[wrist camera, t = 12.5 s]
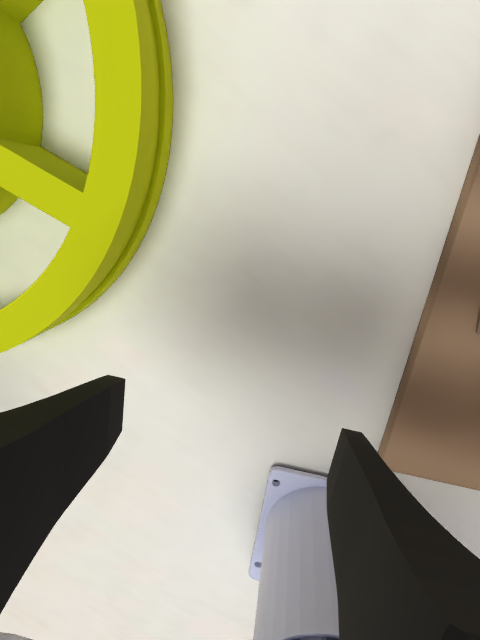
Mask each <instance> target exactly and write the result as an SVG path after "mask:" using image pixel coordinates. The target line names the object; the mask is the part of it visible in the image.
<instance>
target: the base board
mask: <svg viewBox="0 0 480 640" xmlns="http://www.w3.org/2000/svg"><path fill="white" fill-rule="evenodd" d="M479 319H480V136H479V139H478V142H477V145H476V148H475V151H474V154H473V157H472V161H471V164H470V167H469V170H468V173H467V176H466V179H465V182H464V186H463V189H462V192H461V195H460V198H459V201H458V204H457V207H456V211H455V214H454V217H453V220H452V223H451V226H450V229H449V232H448V236H447V239H446V242H445V245H444V248H443V251H442V254H441V257H440V261H439V264H438V267H437V270H436V273H435V276H434V279H433V282H432V286H431V289H430V292H429V295H428V298H427V301H426V304H425V307H424V311H423V314H422V317H421V320H420V323H419V326H418V329H417V332H416V336H415V339H414V342H413V345H412V348H411V351H410V354H409V357H408V361H407V364H406V367H405V370H404V373H403V376H402V379H401V382H400V386H399V389H398V392H397V395H396V398H395V401H394V404H393V407H392V411H391V414H390V417H389V420H388V423H387V426H386V429H385V432H384V436H383V439H382V442H381V445H380V448H379V451H378V454H379V455H380V457H381V458H382V459H383V461H384V462H385V463H386V464H387V466H388V467H389V468H390V469H391V471H394V472H398V473H403V474H407V475H412V476H416V477H421V478H425V479H430V480H434V481H439V482H443V483H448V484H452V485H457V486H461V487H466V488H470V489H475V490H480V336H479V335H478V334H477V330H478V324H479Z"/></svg>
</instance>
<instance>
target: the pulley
mask: <svg viewBox="0 0 480 640" xmlns="http://www.w3.org/2000/svg"><path fill="white" fill-rule="evenodd" d="M42 1H43V0H0V215H1V214H2V213H3V212H5V211H6V210H7V209H8V208H9V207H10V206H11V205H12V204H13V203H14V202H15V201H16V200H17V199H18V197H19V198H21V199H23V200H24V201H26V202H28V203H30V204H31V205H33V206H35V207H37V208H38V209H40V210H42V211H43V212H45V213H47V214H49V215H50V216H52V217H54V218H55V219H57V220H59V221H61V222H62V223H64V224H66V225H68V226H69V227H71V228H70V230H69V232H68V234H67V236H66V238H65V240H64V242H63V244H62V246H61V247H60V249H59V251H58V252H57V254H56V256H55V257H54V259H53V260H52V261H51V263H50V264H49V266H48V267H47V268H46V270H45V271H44V272H43V273H42V274H41V276H40V277H39V278H38V279H37V280H36V281H35V282H34V283H33V284H32V285H31V286H30V287H29V288H28V289H27V290H26V291H25V292H24V293H23V294H22V295H20V296H19V297H18V298H17V299H16V300H14V301H13V302H11V303H10V304H9V305H7V306H6V307H4V308H2V309H0V353H1V352H4V351H7V350H9V349H11V348H13V347H15V346H17V345H19V344H21V343H23V342H25V341H27V340H29V339H31V338H33V337H35V336H37V335H39V334H41V333H43V332H44V331H46V330H48V329H51V328H53V327H55V326H57V325H59V324H61V323H63V322H65V321H66V320H68V319H70V318H72V317H73V316H75V315H77V314H78V313H80V312H81V311H83V310H84V309H85V308H87V307H88V306H90V305H91V304H92V303H93V302H94V301H96V300H97V299H98V298H99V297H100V296H101V295H102V294H103V293H104V292H105V291H106V290H107V289H108V288H109V287H110V286H111V285H112V284H113V283H114V282H115V281H116V279H117V278H118V277H119V276H120V275H121V273H122V272H123V271H124V269H125V268H126V267H127V265H128V264H129V262H130V261H131V259H132V258H133V256H134V254H135V253H136V251H137V249H138V248H139V246H140V244H141V242H142V240H143V238H144V236H145V234H146V232H147V230H148V227H149V225H150V223H151V221H152V218H153V215H154V213H155V210H156V207H157V204H158V201H159V198H160V194H161V191H162V187H163V184H164V179H165V174H166V170H167V165H168V159H169V152H170V145H171V135H172V123H173V83H172V69H171V58H170V50H169V43H168V37H167V30H166V25H165V20H164V16H163V11H162V6H161V2H160V0H83V1H84V5H85V9H86V14H87V20H88V26H89V32H90V37H91V46H92V54H93V63H94V79H95V122H94V136H93V145H92V154H91V159H90V165H89V171H88V174H87V173H85V172H83V171H81V170H80V169H78V168H76V167H75V166H73V165H71V164H69V163H68V162H66V161H64V160H63V159H61V158H59V157H57V156H56V155H54V154H52V153H51V152H49V151H47V150H46V149H44V148H42V147H40V145H41V138H42V128H43V106H42V95H41V87H40V82H39V76H38V72H37V68H36V64H35V61H34V57H33V54H32V51H31V48H30V46H29V43H28V40H27V38H26V36H25V33H24V31H23V29H22V27H21V25H20V23H21V22H22V21H23V20H24V19H25V18H26V17H27V16H28V15H29V14H30V13H31V12H32V11H33V10H34V9H35V8H36V7H37V6H38V5H39V4H40V3H41V2H42Z"/></svg>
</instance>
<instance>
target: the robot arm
mask: <svg viewBox="0 0 480 640" xmlns="http://www.w3.org/2000/svg"><path fill="white" fill-rule="evenodd" d="M124 391H125V379H124V378H119V377H115V376H110V375H107V376H103V377H100V378H97V379H95V380H92V381H89V382H87V383H84V384H82V385H79V386H77V387H74V388H71V389H69V390H66V391H64V392H61V393H58V394H56V395H53V396H50V397H48V398H45V399H42V400H39V401H36V402H33V403H30V404H27V405H24V406H22V407H18V408H15V409H12V410H8V411H5V412H1V413H0V614H1V612H2V610H3V609H4V607H5V605H6V603H7V602H8V600H9V598H10V596H11V595H12V593H13V591H14V589H15V588H16V586H17V585H18V583H19V581H20V580H21V578H22V576H23V575H24V573H25V571H26V570H27V568H28V566H29V565H30V563H31V561H32V560H33V558H34V556H35V555H36V553H37V552H38V550H39V549H40V547H41V545H42V544H43V542H44V541H45V539H46V538H47V536H48V534H49V533H50V531H51V530H52V528H53V527H54V525H55V524H56V522H57V521H58V519H59V518H60V517H61V515H62V514H63V513H64V511H65V510H66V509H67V507H68V506H69V505H70V504H71V502H72V501H73V500H74V498H75V497H76V496H77V495H78V493H79V492H80V491H81V489H82V488H83V487H84V486H85V484H86V483H87V482H88V480H89V479H90V478H91V477H92V475H93V474H94V473H95V471H96V470H97V469H98V468H99V466H100V465H101V464H102V462H103V461H104V460H105V458H106V457H107V455H108V454H109V452H110V450H111V449H112V447H113V445H114V444H115V442H116V440H117V438H118V437H119V435H120V433H121V431H122V422H123V407H124ZM273 480H279V482H275V481H273ZM249 576H250V577H251V578H252V579H254V580H258V581H260V583H259V592H258V601H257V610H256V619H255V628H254V637H253V640H480V559H479V558H477V557H476V556H475V555H474V554H473V553H471V552H470V551H469V550H468V549H467V548H466V547H464V546H463V545H462V544H461V543H460V542H459V541H458V540H457V539H455V538H454V537H453V536H452V535H451V534H450V533H449V532H448V531H447V530H446V529H445V528H444V527H443V526H442V525H441V524H440V523H439V522H438V521H436V520H435V519H434V518H433V517H432V516H431V515H430V514H429V513H428V512H427V511H426V509H425V508H424V507H423V506H422V505H421V504H420V503H419V502H418V501H417V500H416V499H415V498H414V496H413V495H412V494H411V493H410V492H409V491H408V490H407V489H406V487H405V486H404V485H403V484H402V483H401V482H400V480H399V479H398V478H397V477H396V476H395V474H394V473H393V472H392V471H391V469H390V468H389V467H388V466H387V464H386V463H385V462H384V461H383V459H382V458H381V457H380V455H379V454H378V453H377V451H376V450H375V449H374V448H373V446H372V445H371V444H370V442H369V441H368V440H367V438H366V437H365V436H364V435H363V434H362V432H357V431H353V430H348V429H344V428H342V430H341V433H340V437H339V440H338V443H337V447H336V450H335V453H334V457H333V460H332V464H331V467H330V470H329V474H328V477H324V476H320V475H315V474H311V473H306V472H302V471H298V470H293V469H289V468H284V467H280V466H275V467H272V468H271V470H270V473H269V477H268V482H267V487H266V492H265V496H264V501H263V506H262V511H261V515H260V520H259V525H258V530H257V535H256V539H255V544H254V549H253V554H252V558H251V563H250V568H249ZM0 640H32V639H29V638H25V637H22V636H19V635H16V634H10V633H1V632H0Z"/></svg>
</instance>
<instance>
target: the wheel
mask: <svg viewBox="0 0 480 640" xmlns="http://www.w3.org/2000/svg"><path fill="white" fill-rule="evenodd" d="M477 334H478V335H479V336H480V319H479V324H478V330H477Z"/></svg>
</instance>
